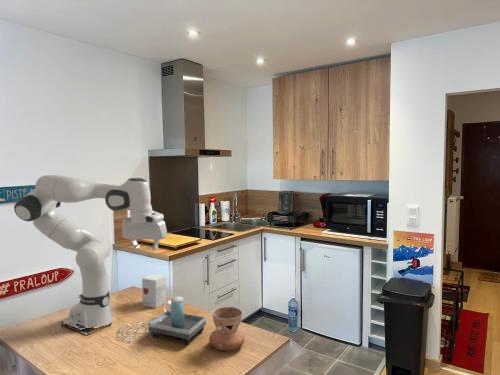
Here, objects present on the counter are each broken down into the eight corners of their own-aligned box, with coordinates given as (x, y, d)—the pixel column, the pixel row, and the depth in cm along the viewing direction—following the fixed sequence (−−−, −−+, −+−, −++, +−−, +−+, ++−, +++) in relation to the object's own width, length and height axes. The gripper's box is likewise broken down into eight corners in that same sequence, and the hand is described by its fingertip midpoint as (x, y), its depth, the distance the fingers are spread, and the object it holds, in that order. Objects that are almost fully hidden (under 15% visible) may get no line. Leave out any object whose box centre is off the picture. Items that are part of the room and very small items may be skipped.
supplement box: (141, 305, 183) (141, 278, 182) (152, 299, 192) (152, 273, 191) (156, 308, 180) (155, 280, 179) (166, 302, 188) (166, 275, 187)
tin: (169, 325, 151) (168, 300, 150) (175, 319, 156) (175, 295, 155) (179, 327, 149) (179, 302, 148) (186, 321, 154) (185, 297, 153)
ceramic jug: (234, 360, 133) (234, 323, 132) (201, 351, 139) (201, 316, 138) (251, 339, 150) (252, 306, 149) (221, 332, 155) (222, 301, 154)
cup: (177, 321, 165) (177, 305, 165) (159, 318, 169) (159, 302, 168) (185, 315, 172) (185, 299, 171) (168, 312, 175) (167, 297, 175)
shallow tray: (149, 337, 150) (148, 323, 149) (167, 323, 163) (167, 310, 162) (189, 346, 143) (189, 331, 142) (205, 331, 156) (205, 317, 155)
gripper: (116, 218, 145) (121, 250, 147) (157, 218, 138) (162, 252, 140) (126, 215, 151) (130, 246, 153) (166, 214, 144) (170, 247, 146)
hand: (146, 248), depth 146 cm, fingers open, 8 cm apart
